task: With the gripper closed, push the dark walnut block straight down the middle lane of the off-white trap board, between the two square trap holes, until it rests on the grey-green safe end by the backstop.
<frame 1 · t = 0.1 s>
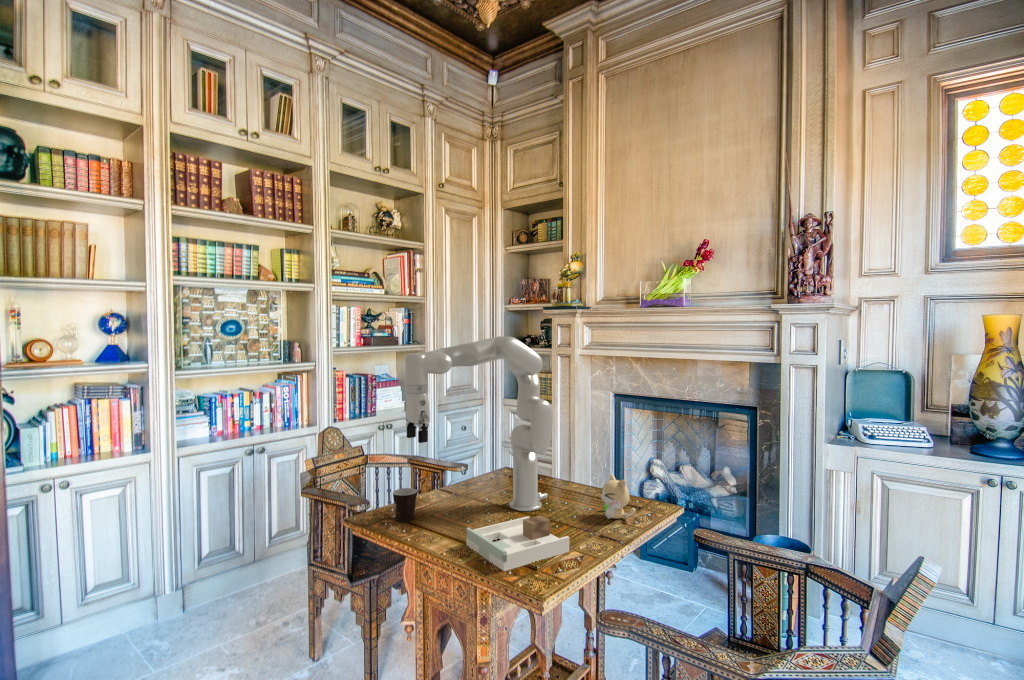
hand: (417, 439, 179), 31 cm above the table, tool pointing down, fingers open, 9 cm apart
coffee mug: (404, 521, 189), on the table
kitten: (614, 517, 192), on the table
walnut block: (536, 535, 168), point 2 cm above the table, touching trap board
trap board: (517, 548, 164), on the table
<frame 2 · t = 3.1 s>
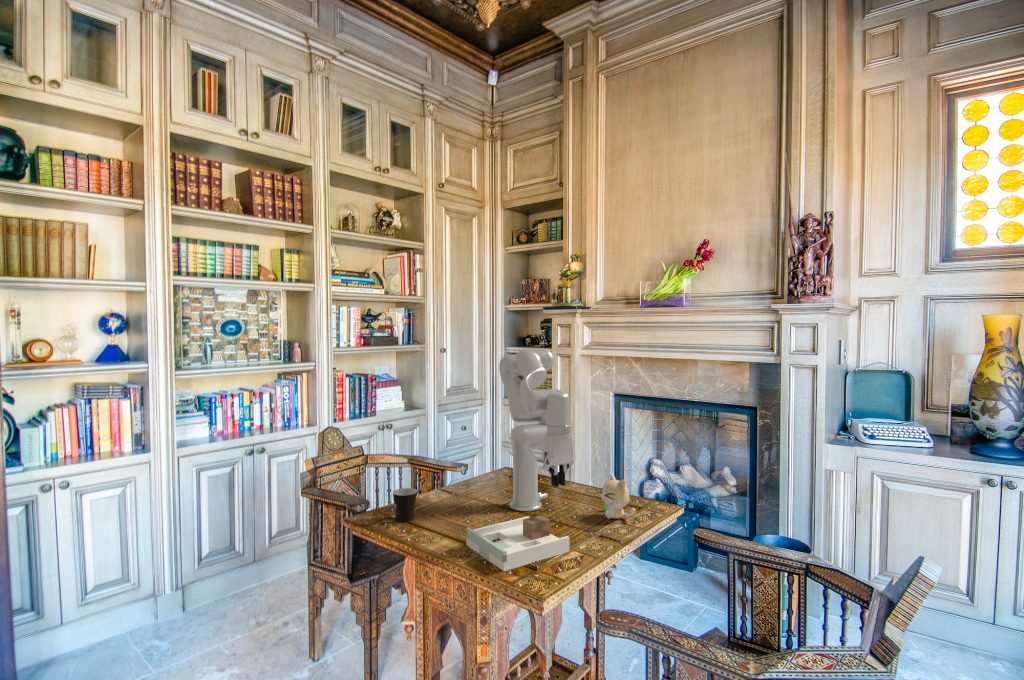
hand: (558, 485, 173), 17 cm above the table, tool pointing down, fingers closed
nothing on the table moved.
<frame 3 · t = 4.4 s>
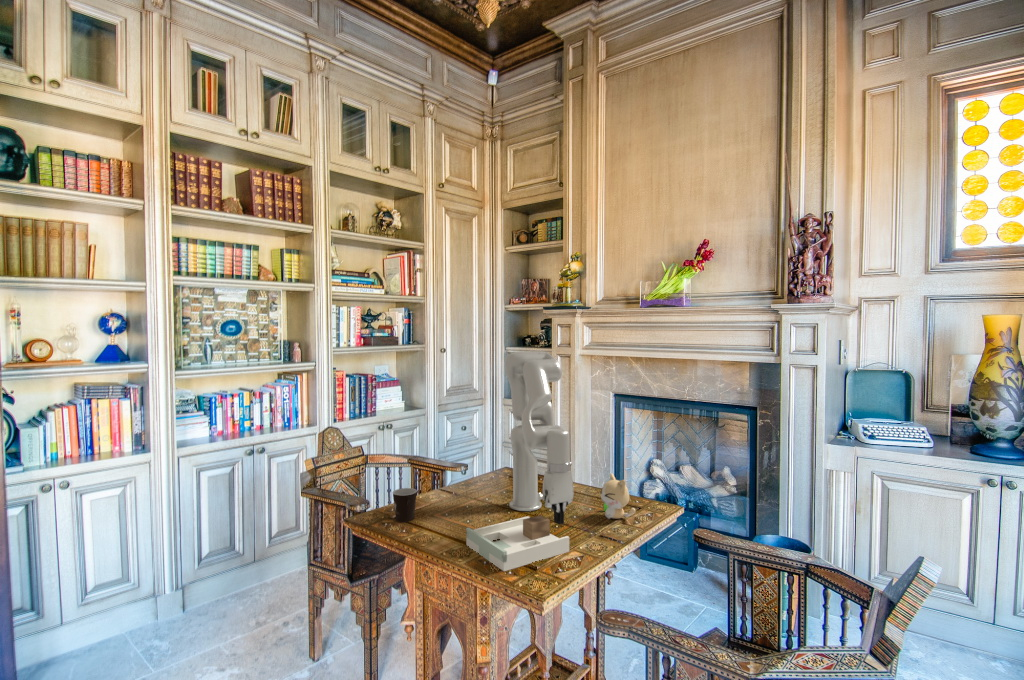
hand: (559, 522, 173), 5 cm above the table, tool pointing down, fingers closed
nothing on the table moved.
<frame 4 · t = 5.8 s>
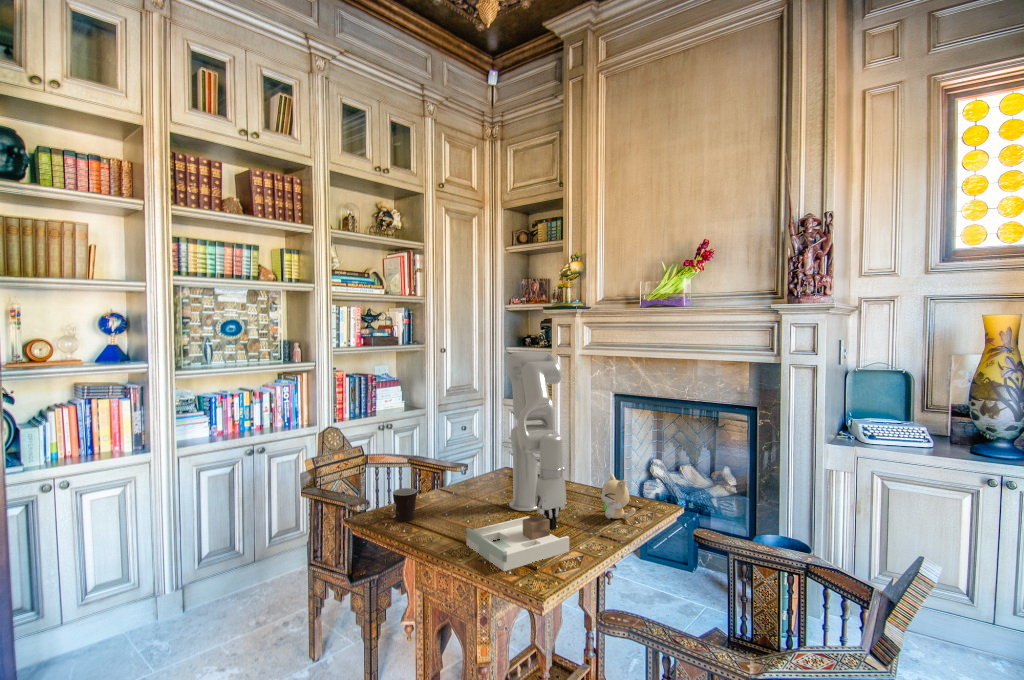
hand: (551, 528, 172), 3 cm above the table, tool pointing down, fingers closed
walnut block: (536, 535, 168), point 2 cm above the table, touching gripper, trap board
everything else where it was.
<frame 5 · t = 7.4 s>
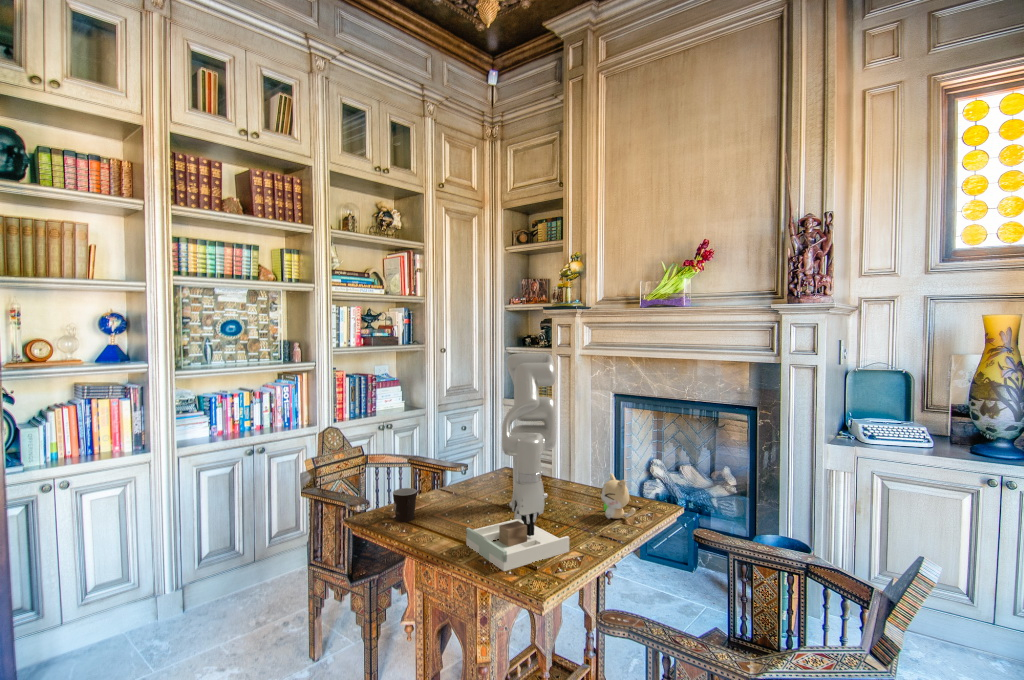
hand: (529, 534, 167), 3 cm above the table, tool pointing down, fingers closed
walnut block: (513, 541, 163), point 3 cm above the table, touching gripper, trap board
everything else where it was.
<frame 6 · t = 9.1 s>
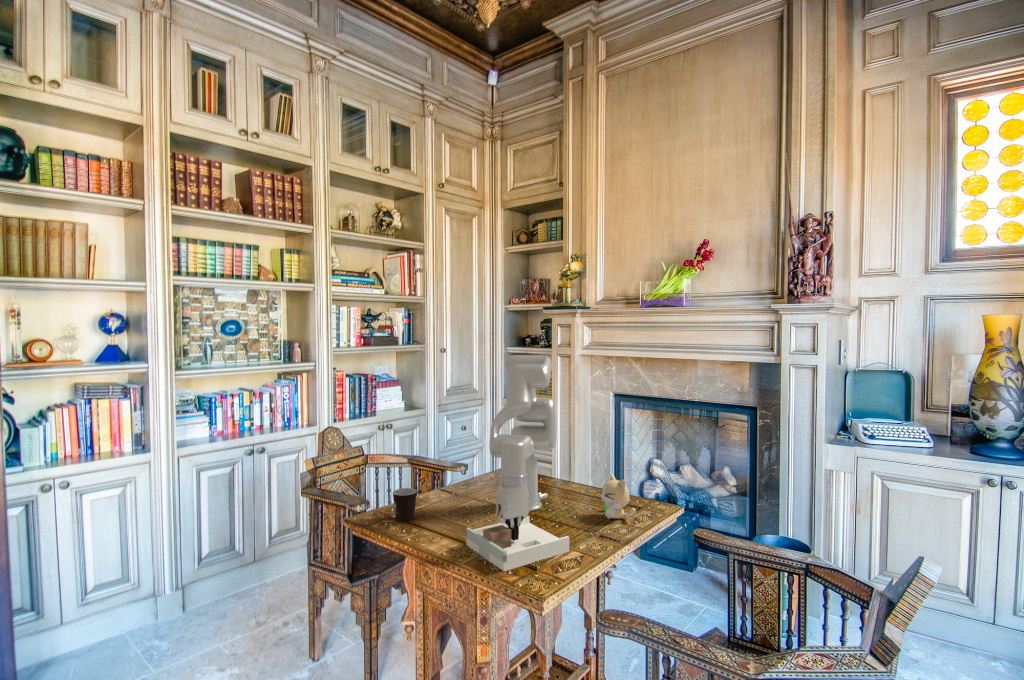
hand: (513, 538, 163), 3 cm above the table, tool pointing down, fingers closed
walnut block: (497, 546, 160), point 2 cm above the table, touching gripper, trap board
everything else where it was.
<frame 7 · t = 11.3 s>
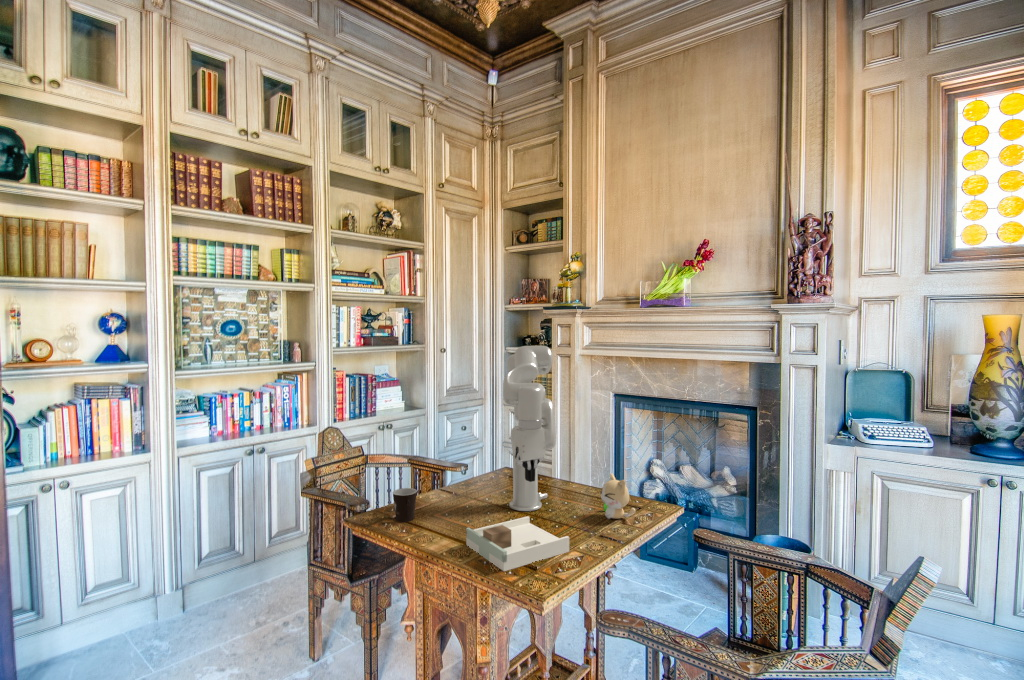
hand: (530, 480, 170), 20 cm above the table, tool pointing down, fingers closed
walnut block: (497, 546, 160), point 2 cm above the table, touching trap board
everything else where it was.
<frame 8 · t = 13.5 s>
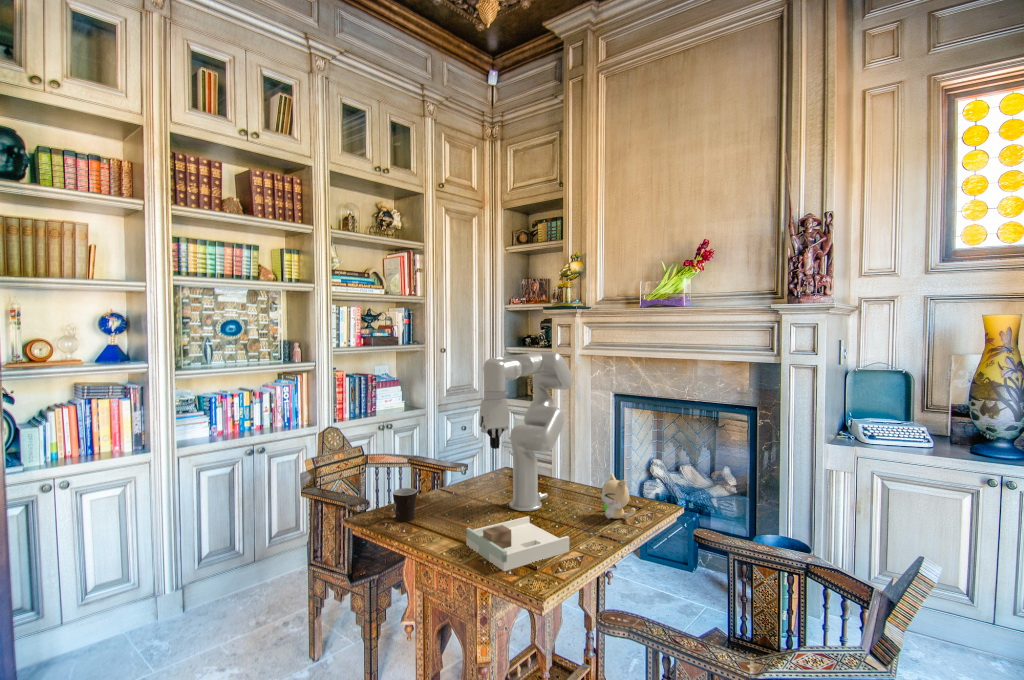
hand: (494, 447, 184), 27 cm above the table, tool pointing down, fingers closed
nothing on the table moved.
at the end: walnut block inside the target area (0.3 cm from its centre), point 2.5 cm above the table; walnut block tilted 0° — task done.
